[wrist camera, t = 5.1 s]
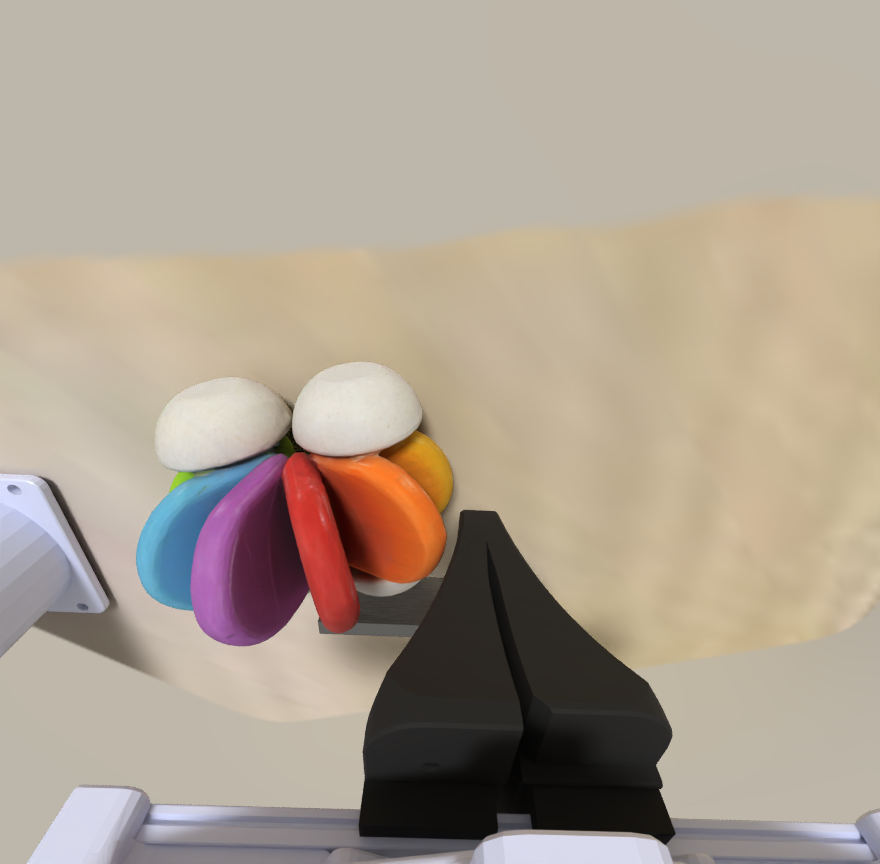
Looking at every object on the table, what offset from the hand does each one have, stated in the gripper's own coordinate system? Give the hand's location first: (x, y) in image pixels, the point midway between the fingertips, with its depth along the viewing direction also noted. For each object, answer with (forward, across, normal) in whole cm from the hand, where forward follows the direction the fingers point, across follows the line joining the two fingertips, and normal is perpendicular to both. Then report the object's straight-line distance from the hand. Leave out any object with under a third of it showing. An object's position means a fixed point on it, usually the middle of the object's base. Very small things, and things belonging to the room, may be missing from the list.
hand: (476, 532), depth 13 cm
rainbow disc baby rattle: (+3, +6, -1) cm, 7 cm away
